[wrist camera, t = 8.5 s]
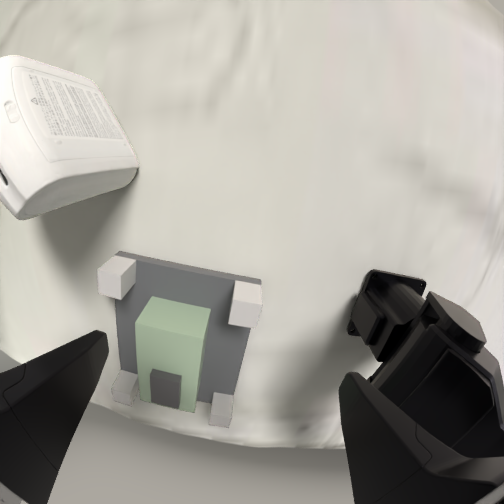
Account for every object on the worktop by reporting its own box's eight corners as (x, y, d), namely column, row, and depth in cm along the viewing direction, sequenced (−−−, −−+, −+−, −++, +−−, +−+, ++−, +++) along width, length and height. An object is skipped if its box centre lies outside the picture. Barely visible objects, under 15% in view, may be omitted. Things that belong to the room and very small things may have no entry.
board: (210, 308, 22) (201, 345, 17) (200, 382, 25) (192, 419, 20) (151, 296, 22) (131, 329, 17) (151, 371, 24) (138, 406, 20)
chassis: (260, 279, 22) (262, 304, 18) (230, 399, 27) (228, 427, 23) (119, 251, 21) (97, 269, 18) (125, 375, 26) (113, 400, 22)
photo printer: (61, 106, 17) (-48, 97, 5) (96, 73, 16) (-10, 37, 5) (110, 199, 20) (-3, 249, 8) (150, 168, 19) (39, 193, 8)
